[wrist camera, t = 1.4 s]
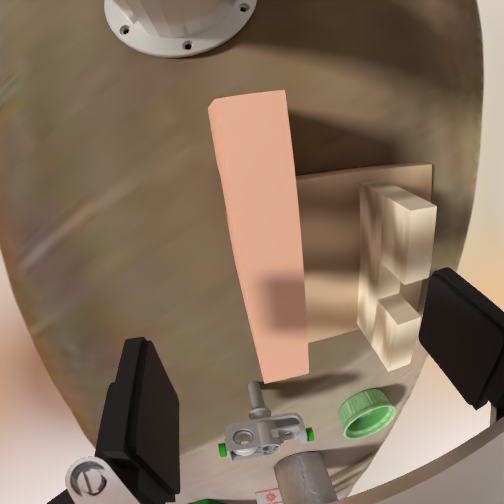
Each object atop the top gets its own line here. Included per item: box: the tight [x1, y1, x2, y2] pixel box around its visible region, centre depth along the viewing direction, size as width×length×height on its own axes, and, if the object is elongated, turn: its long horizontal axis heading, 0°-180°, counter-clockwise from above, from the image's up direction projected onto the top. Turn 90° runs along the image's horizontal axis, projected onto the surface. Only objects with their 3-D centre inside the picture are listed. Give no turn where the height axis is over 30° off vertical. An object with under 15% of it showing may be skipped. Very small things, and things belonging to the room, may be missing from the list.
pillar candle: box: [274, 452, 338, 504], centre depth 43 cm, size 10×10×15 cm
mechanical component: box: [218, 382, 314, 461], centre depth 33 cm, size 3×10×10 cm, turn 95°
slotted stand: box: [295, 161, 437, 372], centre depth 27 cm, size 18×15×10 cm
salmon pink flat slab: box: [208, 90, 309, 383], centre depth 20 cm, size 14×2×15 cm, turn 8°
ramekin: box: [339, 389, 396, 440], centre depth 42 cm, size 9×9×4 cm
